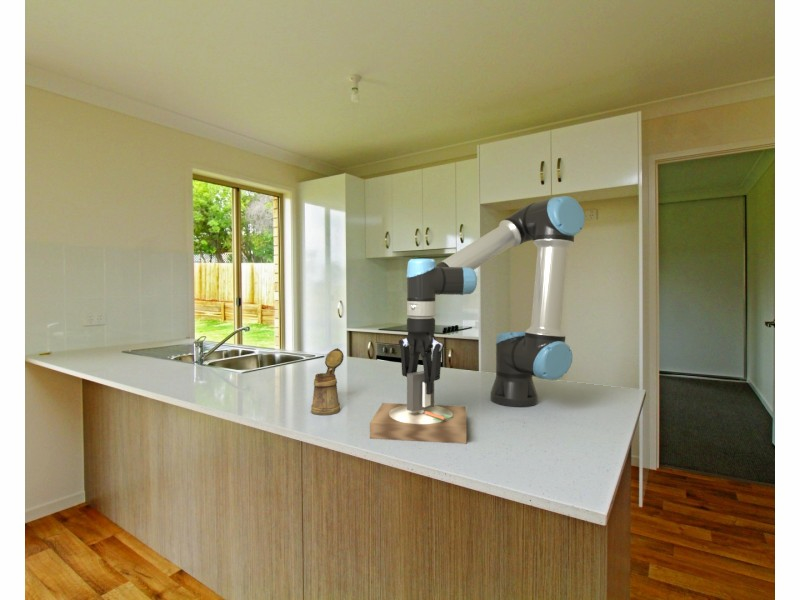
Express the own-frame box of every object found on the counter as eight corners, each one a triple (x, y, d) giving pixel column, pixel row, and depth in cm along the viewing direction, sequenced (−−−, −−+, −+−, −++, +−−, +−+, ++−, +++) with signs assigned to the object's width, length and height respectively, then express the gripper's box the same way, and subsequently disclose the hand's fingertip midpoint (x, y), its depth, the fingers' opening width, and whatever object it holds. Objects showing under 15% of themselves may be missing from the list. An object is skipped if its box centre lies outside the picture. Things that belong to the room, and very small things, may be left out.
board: (465, 420, 124) (465, 405, 124) (466, 443, 106) (466, 425, 106) (382, 416, 127) (382, 401, 127) (369, 438, 109) (369, 421, 109)
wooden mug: (351, 404, 140) (350, 348, 139) (332, 416, 127) (332, 355, 126) (325, 401, 143) (325, 347, 142) (305, 413, 130) (305, 353, 129)
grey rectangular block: (428, 408, 120) (428, 370, 119) (455, 418, 112) (455, 376, 111) (406, 414, 115) (407, 373, 114) (433, 424, 107) (433, 380, 107)
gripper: (388, 316, 117) (387, 402, 118) (439, 319, 107) (438, 413, 108) (405, 314, 123) (404, 396, 124) (454, 318, 113) (454, 407, 114)
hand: (420, 404), depth 116 cm, fingers open, 3 cm apart
